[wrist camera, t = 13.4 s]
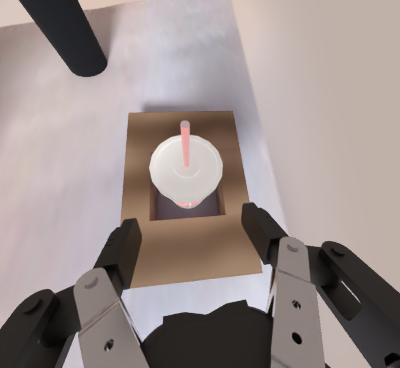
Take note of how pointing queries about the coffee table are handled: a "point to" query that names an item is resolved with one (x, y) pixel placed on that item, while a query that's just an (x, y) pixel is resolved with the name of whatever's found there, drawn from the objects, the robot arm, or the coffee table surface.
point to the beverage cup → (186, 168)
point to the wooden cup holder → (187, 227)
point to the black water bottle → (68, 34)
